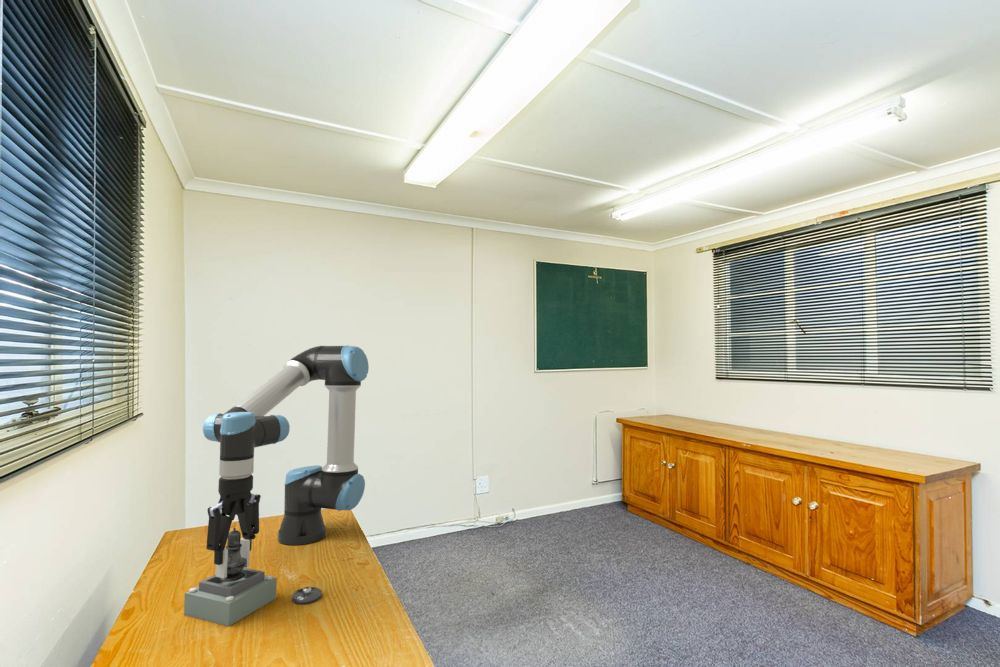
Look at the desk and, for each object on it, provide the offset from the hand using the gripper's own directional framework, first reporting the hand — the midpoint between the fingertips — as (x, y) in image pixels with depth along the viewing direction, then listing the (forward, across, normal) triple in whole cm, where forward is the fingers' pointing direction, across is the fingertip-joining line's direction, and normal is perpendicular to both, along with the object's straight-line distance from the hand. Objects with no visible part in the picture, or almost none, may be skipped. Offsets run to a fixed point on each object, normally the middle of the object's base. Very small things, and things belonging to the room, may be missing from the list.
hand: (232, 571), depth 120 cm
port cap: (+8, -10, +14) cm, 19 cm away
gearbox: (+8, 0, -1) cm, 8 cm away
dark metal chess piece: (+2, 0, 0) cm, 2 cm away
